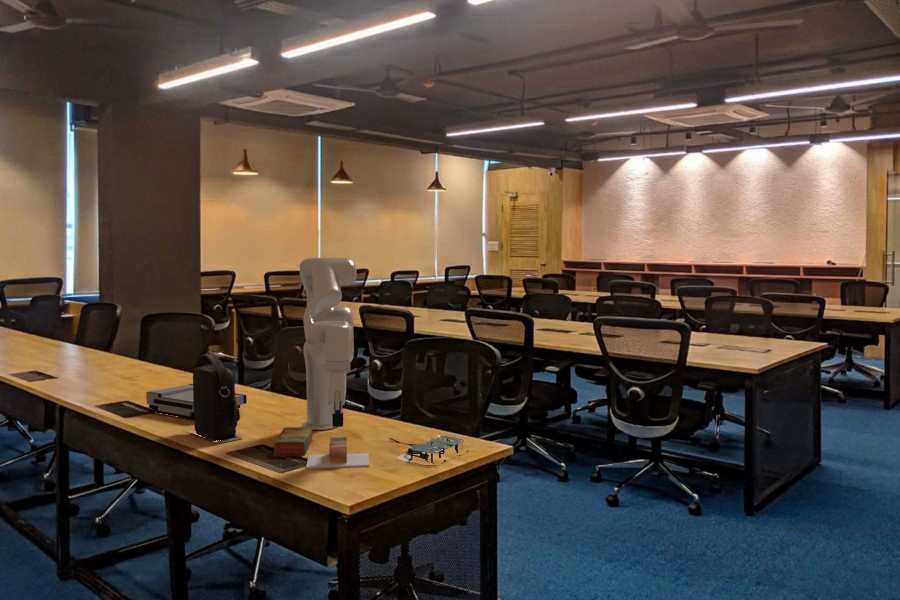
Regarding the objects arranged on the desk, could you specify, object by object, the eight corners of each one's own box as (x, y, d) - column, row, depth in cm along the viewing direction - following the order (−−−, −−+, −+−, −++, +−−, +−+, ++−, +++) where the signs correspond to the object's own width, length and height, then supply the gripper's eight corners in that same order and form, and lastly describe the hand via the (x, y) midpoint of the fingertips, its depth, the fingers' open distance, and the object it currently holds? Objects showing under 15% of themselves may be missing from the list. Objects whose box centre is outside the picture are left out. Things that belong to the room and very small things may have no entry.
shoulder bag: (185, 432, 247) (183, 351, 245) (210, 427, 254) (208, 348, 252) (217, 444, 232) (215, 358, 230) (243, 439, 238) (241, 355, 236)
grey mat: (308, 456, 217) (308, 455, 217) (368, 454, 220) (368, 453, 220) (306, 468, 206) (306, 467, 206) (369, 466, 208) (369, 464, 208)
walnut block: (330, 437, 219) (329, 446, 208) (346, 436, 220) (346, 446, 209) (330, 453, 220) (329, 463, 209) (346, 452, 220) (346, 463, 209)
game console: (203, 423, 260) (202, 401, 260) (146, 413, 277) (146, 392, 276) (246, 412, 278) (246, 391, 278) (191, 403, 295) (190, 383, 294)
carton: (313, 441, 237) (313, 426, 237) (305, 457, 219) (305, 441, 219) (283, 441, 237) (283, 426, 236) (273, 457, 218) (273, 441, 218)
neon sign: (399, 425, 241) (473, 439, 224) (399, 438, 241) (473, 452, 224) (357, 439, 224) (433, 454, 207) (357, 452, 224) (433, 469, 207)
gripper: (325, 361, 221) (326, 420, 222) (323, 370, 206) (324, 433, 208) (350, 361, 222) (350, 419, 223) (350, 370, 207) (350, 432, 209)
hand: (337, 426), depth 215 cm, fingers closed
